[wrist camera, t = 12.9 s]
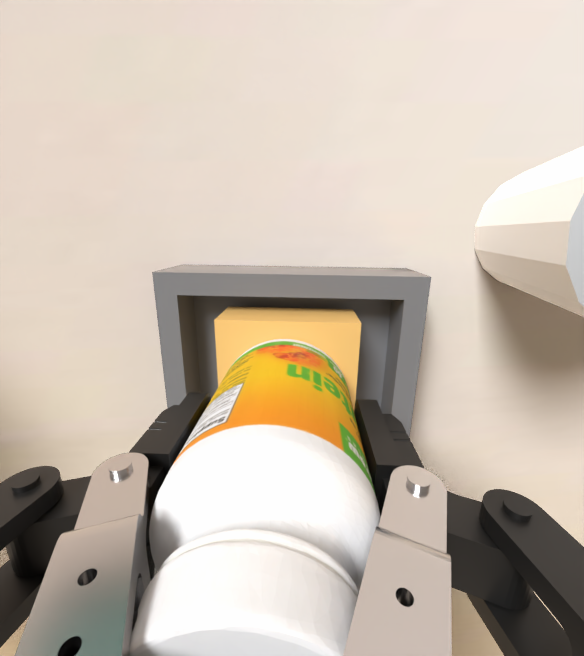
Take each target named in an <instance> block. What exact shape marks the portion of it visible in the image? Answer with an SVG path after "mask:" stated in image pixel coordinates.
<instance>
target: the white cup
mask: <svg viewBox="0 0 584 656" xmlns="http://www.w3.org/2000/svg"><path fill="white" fill-rule="evenodd" d="M474 249H475V252H476V254H477V256H478V259H479V261H480V263H481V266H482V268H483V269H485V270H486V271H487V272H488V273H489V274H490V275H492V276H493V277H494V278H495V279H496V280H497V281H500V282H502V283H505V284H507V285H509V286H512V287H514V288H516V289H519V290H521V291H523V292H526V293H528V294H530V295H533V296H535V297H538V298H540V299H542V300H545V301H547V302H549V303H552V304H554V305H556V306H559V307H561V308H563V309H566V310H568V311H570V312H573V313H575V314H578V315H580V316H582V317H584V146H582V147H580V148H578V149H575V150H573V151H571V152H569V153H566V154H564V155H562V156H559V157H557V158H555V159H553V160H550V161H548V162H546V163H543V164H541V165H539V166H537V167H534V168H532V169H530V170H527V171H525V172H523V173H521V174H519V175H518V176H516V177H514V178H512V179H511V180H509V181H507V182H505V183H504V184H502V185H501V186H500V187H499V188H498V189H497V190H496V191H495V192H494V194H493V195H492V196H491V197H490V198H489V199H488V200H487V202H486V203H485V204H484V206H483V208H482V210H481V213H480V215H479V218H478V220H477V223H476V225H475V245H474Z"/></svg>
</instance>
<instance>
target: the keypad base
mask: <svg viewBox="0 0 584 656" xmlns="http://www.w3.org/2000/svg"><path fill="white" fill-rule="evenodd" d="M152 274H153V283H154V291H155V300H156V309H157V318H158V327H159V336H160V345H161V354H162V363H163V371H164V380H165V389H166V398H167V407H168V408H169V407H171V406H173V405H180V403H181V402H182V401H183V399H184V398H185V397H186V395H187V394H188V393H189V392H196V393H209V394H210V396H211V399H212V397H213V395H214V394H215V392H216V390H217V389H218V374H217V358H216V341H215V324H214V320H215V319H216V318H217V317H218V316H219V315H220V314H221V313H222V312H223V311H224V310H226V309H227V308H228V307H270V308H316V309H353V310H354V312H355V314H356V315H357V317H358V319H359V320H360V322H361V335H360V348H359V361H358V374H357V387H356V399H369V400H377V402H378V404H379V407H380V409H381V411H382V414H392V415H393V416H395V417H396V418H397V419H398V420H399V421H400V422H402V424H403V426H404V428H405V430H406V434H408V436H410V429H411V422H412V414H413V407H414V400H415V392H416V385H417V378H418V370H419V363H420V355H421V348H422V341H423V333H424V326H425V319H426V311H427V304H428V297H429V289H430V282H431V277H430V276H427V275H424V274H421V273H418V272H415V271H412V270H409V269H407V268H351V267H290V266H230V265H179V266H175V267H171V268H167V269H163V270H159V271H155V272H152ZM355 401H356V400H355Z"/></svg>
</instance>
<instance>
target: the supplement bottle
mask: <svg viewBox="0 0 584 656" xmlns="http://www.w3.org/2000/svg"><path fill="white" fill-rule="evenodd" d="M380 518H381V516H380V511H379V507H378V502H377V498H376V494H375V490H374V487H373V483H372V479H371V475H370V472H369V468H368V464H367V460H366V457H365V453H364V449H363V445H362V441H361V437H360V433H359V430H358V426H357V422H356V418H355V414H354V409H353V406H352V402H351V397H350V393H349V389H348V386H347V383H346V380H345V378H344V375H343V373H342V372H341V370H340V368H339V367H338V365H337V364H336V363H335V362H334V361H333V359H332V358H331V357H330V356H329V355H327V354H326V353H325V352H324V351H322V350H321V349H319V348H317V347H315V346H313V345H311V344H309V343H306V342H303V341H299V340H293V339H274V340H269V341H266V342H263V343H260V344H258V345H255V346H254V347H252V348H250V349H248V350H247V351H246V352H244V353H243V354H242V355H241V356H240V357H238V358H237V360H236V361H235V362H234V363H233V364H232V366H231V367H230V369H229V370H228V372H227V373H226V375H225V377H224V378H223V380H222V382H221V383H220V385H219V387H218V389H217V390H216V392H215V394H214V395H213V397H212V399H211V400H210V402H209V404H208V406H207V407H206V409H205V411H204V412H203V414H202V416H201V417H200V419H199V421H198V423H197V424H196V426H195V428H194V429H193V431H192V433H191V435H190V436H189V438H188V440H187V441H186V443H185V445H184V447H183V448H182V450H181V451H180V453H179V455H178V457H177V458H176V460H175V461H174V463H173V465H172V467H171V468H170V470H169V472H168V474H167V476H166V478H165V480H164V482H163V484H162V486H161V487H160V489H159V492H158V494H157V497H156V499H155V502H154V506H153V509H152V513H151V519H150V527H149V540H150V548H151V554H152V557H153V561H154V564H155V567H156V569H157V571H158V572H157V573H156V575H155V576H154V578H153V579H152V580H151V582H150V583H149V584H148V586H147V588H146V590H145V592H144V594H143V596H142V599H141V602H140V604H139V607H138V615H137V620H136V623H135V626H134V628H133V631H132V634H131V645H130V655H129V656H343V654H344V650H345V646H346V642H347V638H348V634H349V630H350V626H351V622H352V618H353V614H354V610H355V606H356V602H357V598H358V595H359V591H360V587H361V583H362V579H363V575H364V571H365V567H366V563H367V559H368V555H369V551H370V547H371V543H372V539H373V535H374V532H375V529H376V526H377V527H378V526H379V522H380Z"/></svg>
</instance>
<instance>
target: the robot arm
mask: <svg viewBox="0 0 584 656" xmlns="http://www.w3.org/2000/svg"><path fill="white" fill-rule="evenodd" d="M210 400H211V396H210V394H209V393H196V392H189V393H188V394H187V395H186V397H185V398H184V399H183V401H182V402H181V403H180V405H173V406H171V407H169V408H168V409H166V410H164V411H163V412H162V413H161V414H160V415H159V416H158V418H157V419H156V420H155V423H154V422H153V424H152V425H151V426H150V427H149V430H147V431H146V432H145V433H144V435H143V436H142V437H141V438H140V439H139V441H138V442H137V443H136V444H135V446H134V447H133V448H132V449H131V450H130V452H129V453H124V454H119V455H116V456H114V457H111V458H109V459H107V460H106V461H104V462H103V463H101V464H100V465H99V466H98V467H97V468H96V469H95V470H94V472H93V474H92V476H88V477H83V478H77V479H72V480H66V481H61V477H60V472H59V470H58V469H57V468H55V467H51V466H40V467H35V468H31V469H27V470H25V471H22V472H20V473H17V474H15V475H13V476H11V477H10V478H8V479H6V480H5V481H3V482H2V483H0V551H1V550H2V549H3V548H4V547H6V550H7V553H8V556H9V559H10V560H9V561H8V562H6V563H5V564H4V565H3V566H2V567H1V568H0V647H1V646H2V645H3V644H4V643H5V642H6V641H7V640H8V639H9V637H10V636H11V635H12V634H13V633H14V632H15V631H16V630H17V629H18V628H19V626H20V625H21V624H22V623H23V622H24V621H25V620H26V619H27V618H28V616H29V615H30V616H29V619H28V621H27V624H26V627H25V629H24V632H23V635H22V637H21V640H20V643H19V646H18V648H17V651H16V654H15V656H129V655H130V645H131V634H132V631H133V628H134V626H135V623H136V620H137V615H138V607H139V604H140V602H141V599H142V596H143V594H144V592H145V590H146V588H147V586H148V584H149V583H150V582H151V580H152V579H153V578H154V576H155V575H156V573H157V569H156V567H155V564H154V561H153V557H152V554H151V548H150V540H149V527H150V519H151V513H152V509H153V506H154V502H155V499H156V497H157V494H158V492H159V489H160V487H161V486H162V484H163V482H164V480H165V478H166V476H167V474H168V472H169V470H170V468H171V467H172V465H173V463H174V461H175V460H176V458H177V457H178V455H179V453H180V451H181V450H182V448H183V447H184V445H185V443H186V441H187V440H188V438H189V436H190V435H191V433H192V431H193V429H194V428H195V426H196V424H197V423H198V421H199V419H200V417H201V416H202V414H203V412H204V411H205V409H206V407H207V406H208V404H209V402H210ZM354 414H355V418H356V422H357V426H358V430H359V433H360V437H361V441H362V445H363V449H364V453H365V457H366V460H367V464H368V468H369V472H370V475H371V479H372V483H373V487H374V490H375V494H376V498H377V502H378V507H379V511H380V516H381V518H380V522H379V526H378V527H377V526H376V529H375V532H374V535H373V539H372V543H371V547H370V551H369V555H368V559H367V563H366V567H365V571H364V575H363V579H362V583H361V587H360V591H359V595H358V598H357V602H356V606H355V610H354V614H353V618H352V622H351V626H350V630H349V634H348V638H347V642H346V646H345V650H344V654H343V656H452V616H451V587H452V588H455V589H458V590H460V591H463V592H465V593H467V595H468V597H469V599H470V601H471V602H472V604H473V606H474V607H475V609H476V610H477V612H478V614H479V615H480V617H481V618H482V620H483V622H484V623H485V625H486V627H487V628H488V630H489V631H490V633H491V635H492V636H493V638H494V639H495V641H496V643H497V644H498V646H499V648H500V649H501V651H502V652H503V654H504V656H584V547H583V546H582V545H581V544H580V543H579V542H578V541H576V540H575V539H574V538H573V537H572V536H571V535H570V534H569V533H568V532H567V531H566V530H565V529H563V528H562V527H561V526H560V525H559V524H558V523H557V522H556V521H555V520H554V519H553V518H552V517H550V516H549V515H548V514H547V513H546V512H545V511H544V510H543V509H542V508H541V507H539V506H538V505H537V504H536V503H534V502H533V501H531V500H529V499H528V498H526V497H524V496H522V495H520V494H517V493H515V492H511V491H508V490H501V489H494V490H490V491H488V492H486V493H485V494H484V496H483V500H482V502H479V501H476V500H472V499H469V498H465V497H462V496H458V495H455V494H453V493H451V492H448V491H447V489H446V487H445V485H444V483H443V482H442V480H441V479H440V478H439V477H438V476H436V475H435V474H434V473H432V472H430V471H428V470H426V469H424V467H423V465H422V463H421V461H420V459H419V457H418V455H417V453H416V451H415V449H414V447H413V444H412V442H410V438H409V436H408V434H406V430H405V428H404V426H403V424H402V422H400V421H399V420H398V419H397V418H396V417H395V416H393V415H392V414H382V411H381V409H380V407H379V404H378V402H377V400H369V399H356V401H355V408H354ZM534 592H535V593H536V594H537V595H538V596H539V598H540V599H541V600H542V601H543V603H544V604H545V605H546V606H547V607H548V609H549V610H550V611H551V612H552V614H553V615H554V616H555V617H556V619H557V620H558V621H559V622H560V624H561V625H562V627H563V628H564V630H565V631H564V630H563V628H562V627H561V626H560V625H559V623H558V622H557V621H556V620H555V618H554V617H553V616H552V615H551V613H550V612H549V611H548V610H547V608H546V607H545V606H544V605H543V604H542V602H541V601H540V600H539V599H538V597H537V596H536V595H535V594H534Z"/></svg>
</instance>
